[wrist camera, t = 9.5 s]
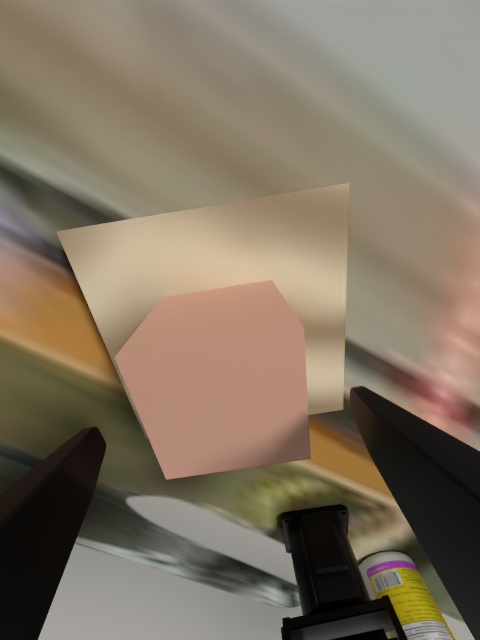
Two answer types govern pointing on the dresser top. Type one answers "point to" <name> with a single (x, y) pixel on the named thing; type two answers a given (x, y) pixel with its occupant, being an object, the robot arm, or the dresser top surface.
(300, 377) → the terracotta cube
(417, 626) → the supplement bottle
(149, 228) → the oak base
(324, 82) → the dresser top surface
